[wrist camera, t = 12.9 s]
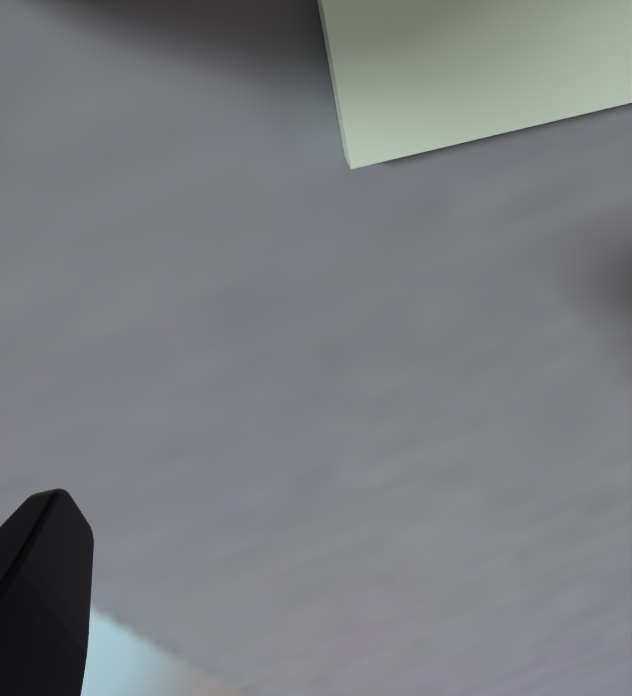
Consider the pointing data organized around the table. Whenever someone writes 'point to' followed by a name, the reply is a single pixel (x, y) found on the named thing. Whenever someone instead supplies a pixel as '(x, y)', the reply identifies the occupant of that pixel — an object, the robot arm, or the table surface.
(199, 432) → the table surface
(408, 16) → the green pad
